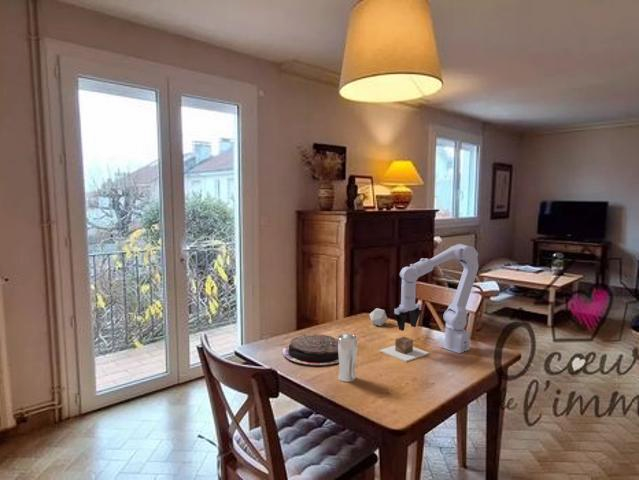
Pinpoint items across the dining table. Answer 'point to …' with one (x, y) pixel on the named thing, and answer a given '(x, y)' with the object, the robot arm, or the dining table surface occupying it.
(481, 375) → the dining table surface
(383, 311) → the die
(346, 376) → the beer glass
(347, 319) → the dining table surface
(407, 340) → the walnut cube
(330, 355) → the chocolate cake
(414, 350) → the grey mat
